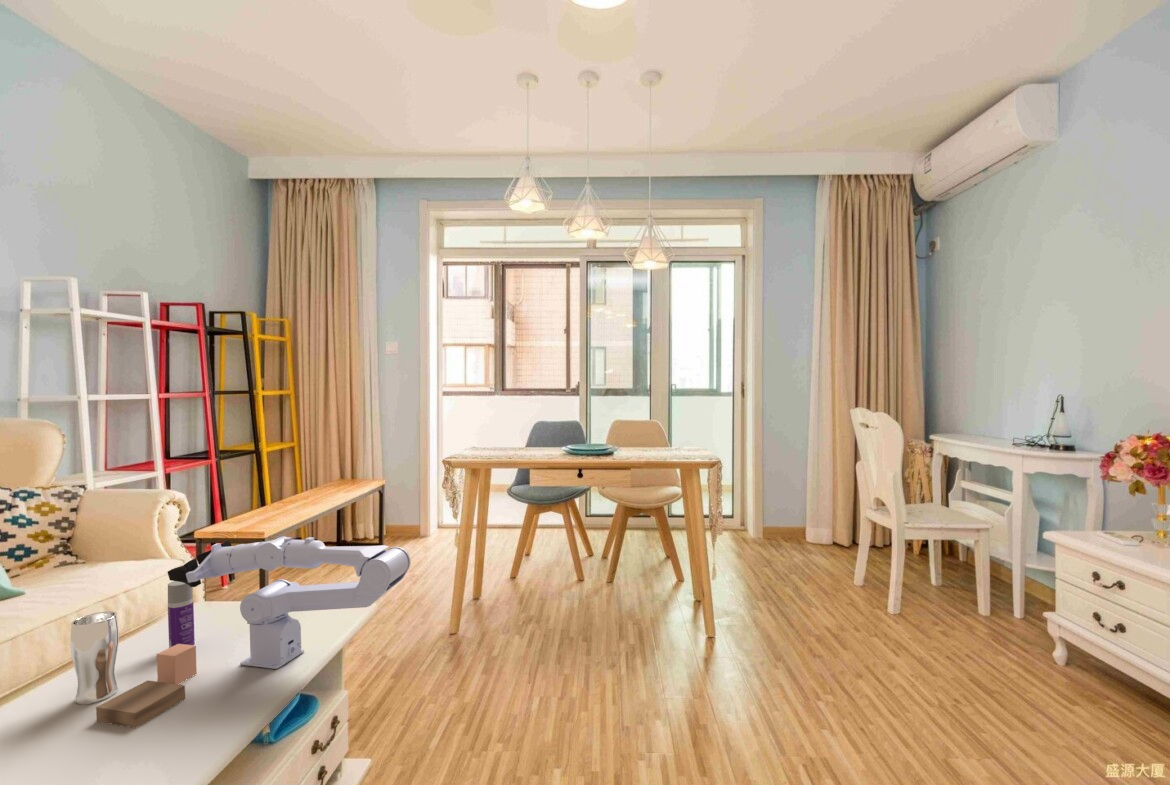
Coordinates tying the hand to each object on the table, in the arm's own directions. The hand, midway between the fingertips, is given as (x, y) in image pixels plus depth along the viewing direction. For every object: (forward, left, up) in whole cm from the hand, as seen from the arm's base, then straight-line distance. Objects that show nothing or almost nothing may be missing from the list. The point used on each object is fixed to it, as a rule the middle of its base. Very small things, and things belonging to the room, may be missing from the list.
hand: (184, 567), depth 122 cm
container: (+4, -2, -20) cm, 20 cm away
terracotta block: (-8, +9, -19) cm, 23 cm away
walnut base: (-12, +19, -20) cm, 30 cm away
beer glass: (+2, +17, -20) cm, 26 cm away
